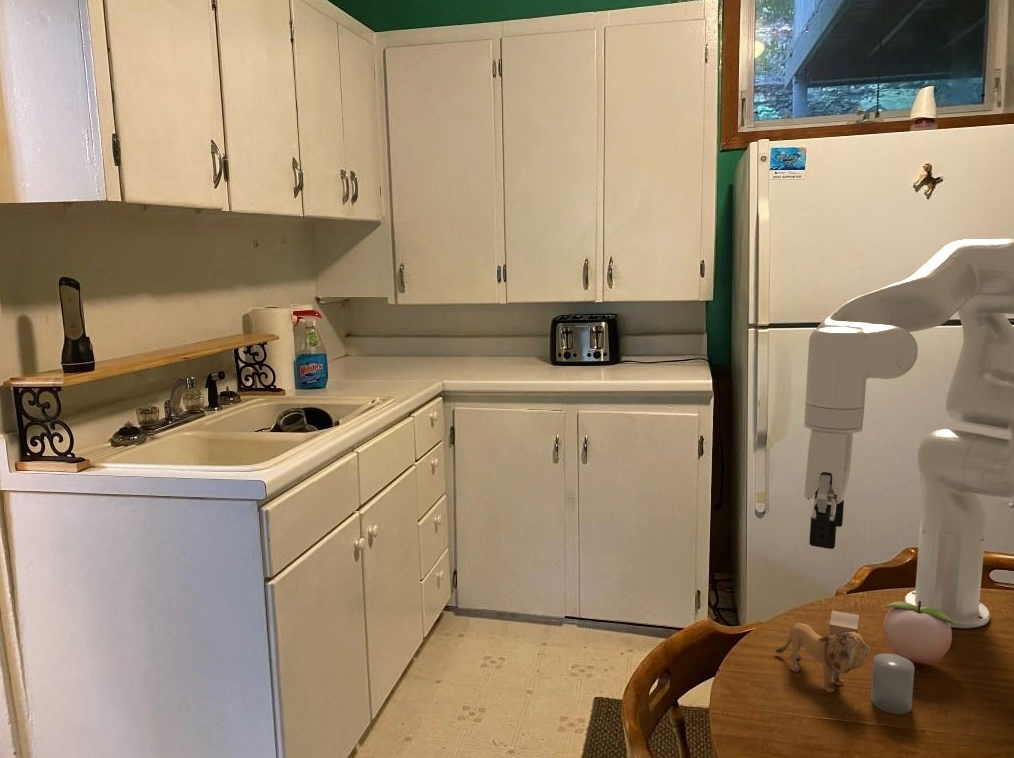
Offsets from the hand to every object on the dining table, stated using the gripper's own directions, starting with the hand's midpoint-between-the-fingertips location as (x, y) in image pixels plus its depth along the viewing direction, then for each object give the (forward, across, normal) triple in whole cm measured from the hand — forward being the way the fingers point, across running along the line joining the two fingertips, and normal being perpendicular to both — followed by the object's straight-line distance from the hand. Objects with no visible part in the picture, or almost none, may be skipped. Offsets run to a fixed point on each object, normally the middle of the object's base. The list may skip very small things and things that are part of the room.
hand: (826, 535), depth 109 cm
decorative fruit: (+22, -10, +12) cm, 27 cm away
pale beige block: (+22, -13, +2) cm, 25 cm away
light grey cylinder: (+22, +2, +10) cm, 24 cm away
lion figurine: (+22, -1, 0) cm, 22 cm away
